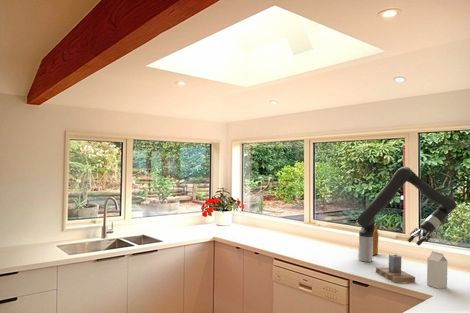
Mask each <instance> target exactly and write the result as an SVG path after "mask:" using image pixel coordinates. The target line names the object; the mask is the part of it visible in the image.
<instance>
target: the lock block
mask: <svg viewBox="0 0 470 313" xmlns="http://www.w3.org/2000/svg"><path fill="white" fill-rule="evenodd" d="M388 267H389V271H390V272H392V273H401V270H402V256H401V255H399V254H396V253H391V254H390V253H389V254H388Z"/></svg>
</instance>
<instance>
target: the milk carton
mask: <svg viewBox="0 0 470 313" xmlns="http://www.w3.org/2000/svg"><path fill="white" fill-rule="evenodd" d="M426 266H427V267H426V270H427V271H426V272H427V273H426V285H427V286H430V287H431V288H435V289H437V290H438V289H439V290H441V289H445V288H448V260H447V258H446V257H445V255H444V253H440V252H437V251H434V250H432V251H431V252H430V254H429V256H428V257H427V265H426Z"/></svg>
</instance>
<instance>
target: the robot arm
mask: <svg viewBox="0 0 470 313" xmlns="http://www.w3.org/2000/svg"><path fill="white" fill-rule="evenodd" d="M406 183H409V184H411V185H412V186H414V187H415V188H416V189H417V190H418V191H419V192H420V193H421V194H422V195H423V196H425V197H426V198H427V199H428V200H430V201H431V202H433V203H437V204H439V206H438V207H437V209H436V210H434V211H433V212H432V213H431V214H430V215H429V216H428V217H427V218H426V219H425V220H424V221H423V222H422V223H421V224H420V228H418V227H415V228H414V229H413V230H412V231H411V232H410V233H409V235H410V237H409V238H408V239H407V241H408V243H411V242H413V241H414V239H416V238H419V239H418V240H417V242H416V245H417V246H421V245H422V243H424V242H426V243H427V242H428V241H429V240H430V239H431V238H432V237H433V233H434V232H435V231H436V230H437V228H438V227H439V226H440V225H441V223H443V222H444V220H445V219H446V217H447V216H448V215H449V214H450V213H451V212H453V211H454V210H456V208H457V204H456V202H455V201H454V200H453V199H452V198H451V197H449V196H446V195H444V194H442V193H440V191H438V190H436V189H435V188H434V187H432V186H431V185H429V184H428V183H427V182H425V181H424V180H423V179H421V177H419V176H418V175H417V174H416V173H415V172H414V171H413V170H412V169H411V168H410V167H408V166H402V167H400V168H398V169H396V172H395V173H394V175H393V176H392V177H391V179H390V180H389V182H388V183H386V184H385V186H384V187H383V188H382V189H381V190H380V191H379V192H378V193H377V195H376V196H375V198H374V199H373V200H372V201H371V202H370V204H369V205H368V206H367V208H365V209H364V210H363V211H362V212H361V213H360V214H359V215H358V216H357V223H358V225H359V226H361V228H360V230H359V233H358V234H359V235H358V256H357V257H358V260H359V261H360V262H366V263H372V262H373V256H374V255H373V233H374V227H375V226H376V224H375V223H376V222H375V221H376V219H375V216H376V215H377V214H379V213H380V212H381V211H382V210H384V209H385V208H386V207H388V205H389V204H390V203H391V202H392V201H393V199H394V198H395V196H396V195H397V193H398V191H399V190H400V188H401V187H402V186H403V185H405V184H406Z"/></svg>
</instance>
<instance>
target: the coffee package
mask: <svg viewBox="0 0 470 313" xmlns="http://www.w3.org/2000/svg"><path fill="white" fill-rule="evenodd" d="M377 254H379V231H378V225H375V227H374V233H373V256H375V255H377Z"/></svg>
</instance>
